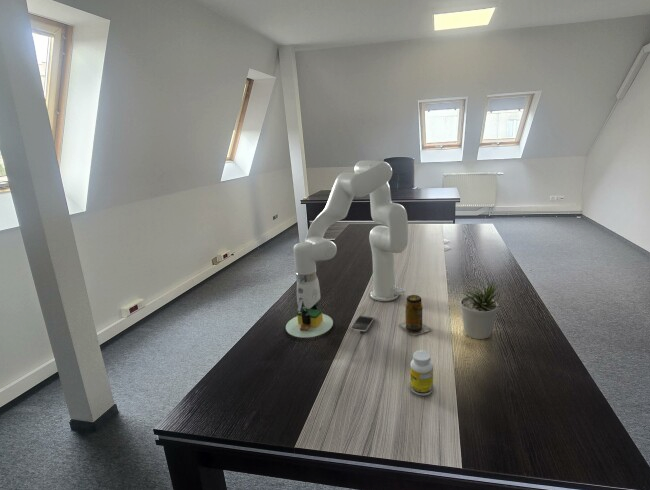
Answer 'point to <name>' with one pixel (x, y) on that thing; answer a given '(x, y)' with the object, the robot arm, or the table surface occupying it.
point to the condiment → (414, 316)
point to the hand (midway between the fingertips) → (310, 319)
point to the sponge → (312, 317)
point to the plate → (323, 327)
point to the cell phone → (362, 323)
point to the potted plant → (479, 312)
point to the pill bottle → (421, 373)
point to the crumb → (304, 327)
